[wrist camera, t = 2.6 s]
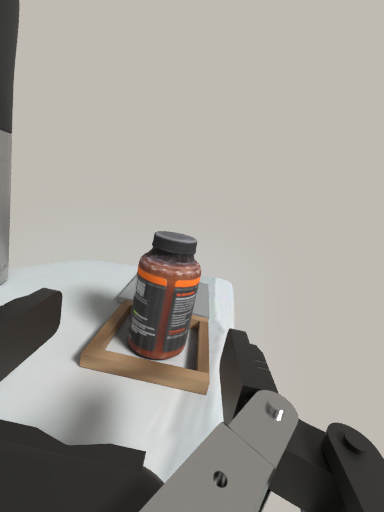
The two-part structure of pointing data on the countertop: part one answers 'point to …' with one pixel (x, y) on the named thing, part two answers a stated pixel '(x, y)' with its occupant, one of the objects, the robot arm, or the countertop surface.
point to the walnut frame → (147, 369)
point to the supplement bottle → (164, 296)
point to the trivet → (199, 307)
